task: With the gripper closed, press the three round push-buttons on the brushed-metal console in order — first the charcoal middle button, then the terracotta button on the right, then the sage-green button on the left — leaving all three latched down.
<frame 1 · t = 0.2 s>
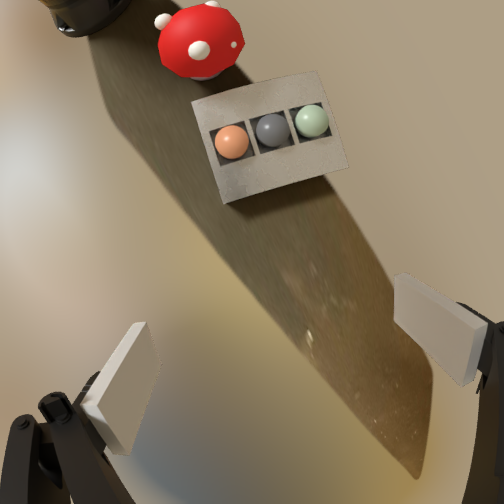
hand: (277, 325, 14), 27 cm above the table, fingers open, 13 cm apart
button sage: (311, 121, 34), point 4 cm above the table, slide at 0.0 cm
console: (269, 136, 38), on the table
button terracotta: (232, 142, 34), point 4 cm above the table, slide at 0.0 cm
button charcoal: (272, 131, 34), point 4 cm above the table, slide at 0.0 cm
mushroom: (206, 61, 35), on the table
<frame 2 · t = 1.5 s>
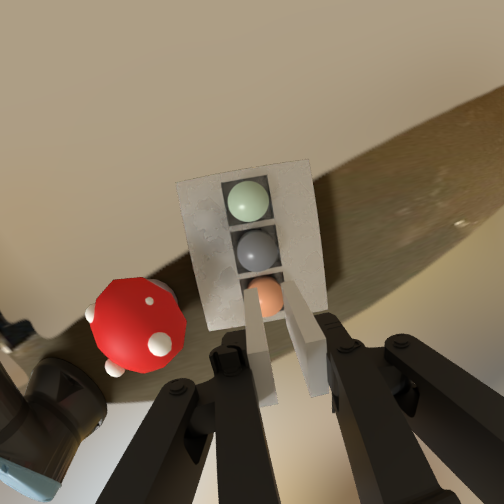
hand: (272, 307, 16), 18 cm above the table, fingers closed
button sage: (247, 200, 29), point 4 cm above the table, slide at 0.0 cm
console: (254, 243, 34), on the table
button terracotta: (264, 296, 32), point 4 cm above the table, slide at 0.0 cm
button charcoal: (256, 250, 30), point 4 cm above the table, slide at 0.0 cm
mushroom: (153, 300, 36), on the table
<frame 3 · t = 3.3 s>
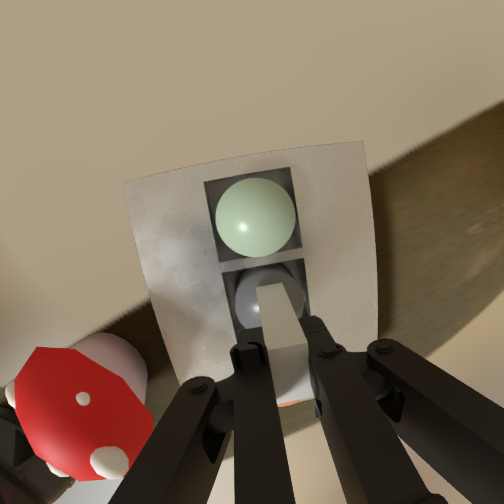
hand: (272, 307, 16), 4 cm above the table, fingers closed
button sage: (254, 215, 16), point 4 cm above the table, slide at 0.0 cm
console: (263, 282, 21), on the table
button terracotta: (281, 374, 18), point 4 cm above the table, slide at 0.0 cm
button charcoal: (268, 298, 18), point 3 cm above the table, slide at 0.9 cm, touching gripper
mushroom: (112, 361, 22), on the table
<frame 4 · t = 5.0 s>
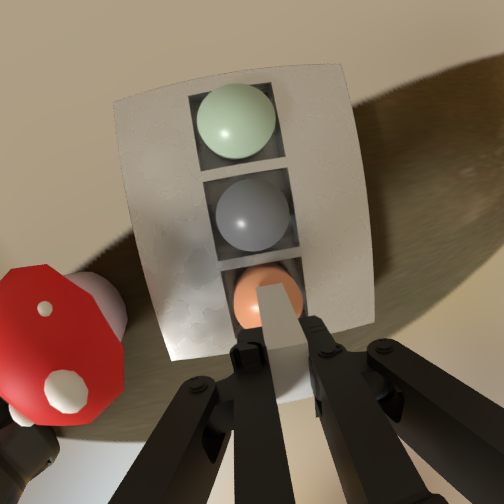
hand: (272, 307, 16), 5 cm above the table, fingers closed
button sage: (236, 122, 15), point 4 cm above the table, slide at 0.0 cm
console: (249, 209, 20), on the table
button terracotta: (266, 298, 18), point 3 cm above the table, slide at 0.6 cm, touching gripper
button charcoal: (251, 213, 17), point 3 cm above the table, slide at 1.0 cm
mushroom: (91, 305, 21), on the table
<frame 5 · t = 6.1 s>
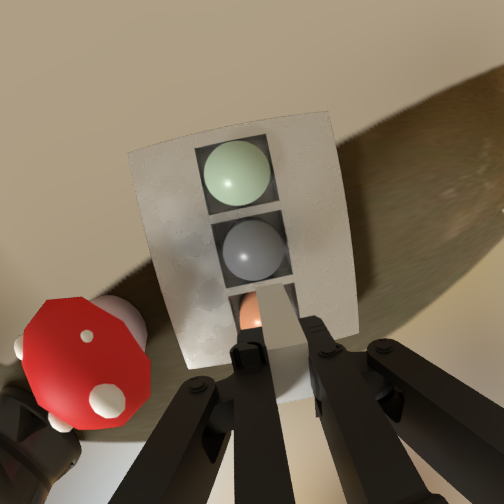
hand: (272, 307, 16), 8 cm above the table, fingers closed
button sage: (237, 173, 18), point 4 cm above the table, slide at 0.0 cm
console: (250, 240, 23), on the table
button terracotta: (266, 314, 22), point 3 cm above the table, slide at 1.0 cm
button charcoal: (252, 248, 20), point 3 cm above the table, slide at 1.0 cm
mushroom: (114, 323, 25), on the table
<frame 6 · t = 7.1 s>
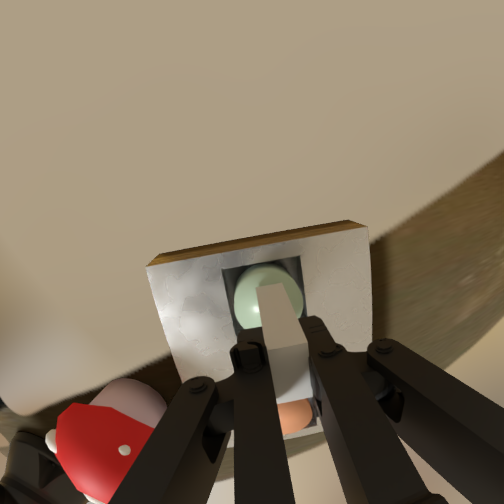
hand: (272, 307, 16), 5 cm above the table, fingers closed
button sage: (267, 299, 18), point 4 cm above the table, slide at 0.2 cm, touching gripper
console: (272, 340, 23), on the table
button terracotta: (285, 409, 21), point 3 cm above the table, slide at 1.0 cm
mushroom: (134, 400, 24), on the table
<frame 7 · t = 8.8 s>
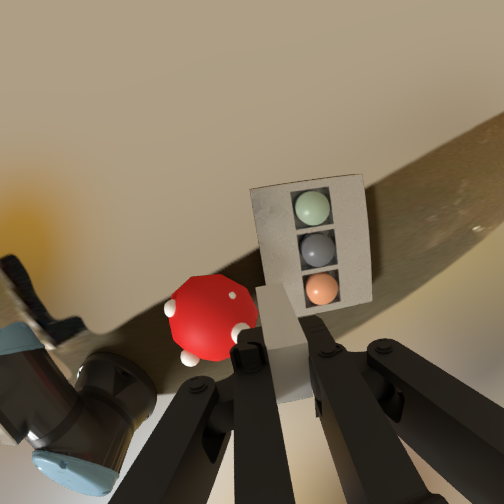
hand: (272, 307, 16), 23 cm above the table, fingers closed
button sage: (311, 207, 35), point 3 cm above the table, slide at 1.0 cm
console: (311, 243, 39), on the table
button terracotta: (321, 287, 37), point 3 cm above the table, slide at 1.0 cm
button charcoal: (316, 248, 36), point 3 cm above the table, slide at 1.0 cm
mushroom: (216, 295, 40), on the table
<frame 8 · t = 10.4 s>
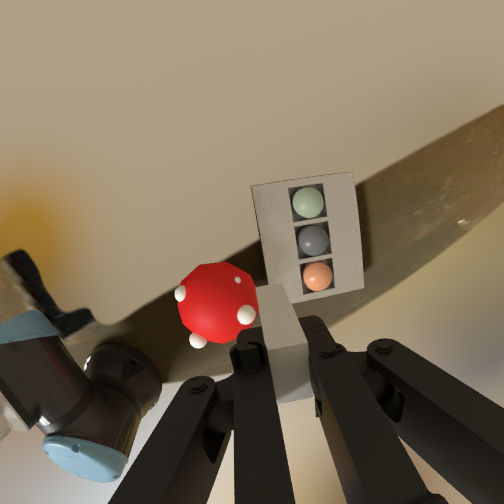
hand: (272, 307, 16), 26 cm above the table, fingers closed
button sage: (307, 202, 39), point 3 cm above the table, slide at 1.0 cm
console: (307, 235, 43), on the table
button terracotta: (316, 275, 41), point 3 cm above the table, slide at 1.0 cm
button charcoal: (312, 239, 40), point 3 cm above the table, slide at 1.0 cm
mushroom: (220, 284, 44), on the table
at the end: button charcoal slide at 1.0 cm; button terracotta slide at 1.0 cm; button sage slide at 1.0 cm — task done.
